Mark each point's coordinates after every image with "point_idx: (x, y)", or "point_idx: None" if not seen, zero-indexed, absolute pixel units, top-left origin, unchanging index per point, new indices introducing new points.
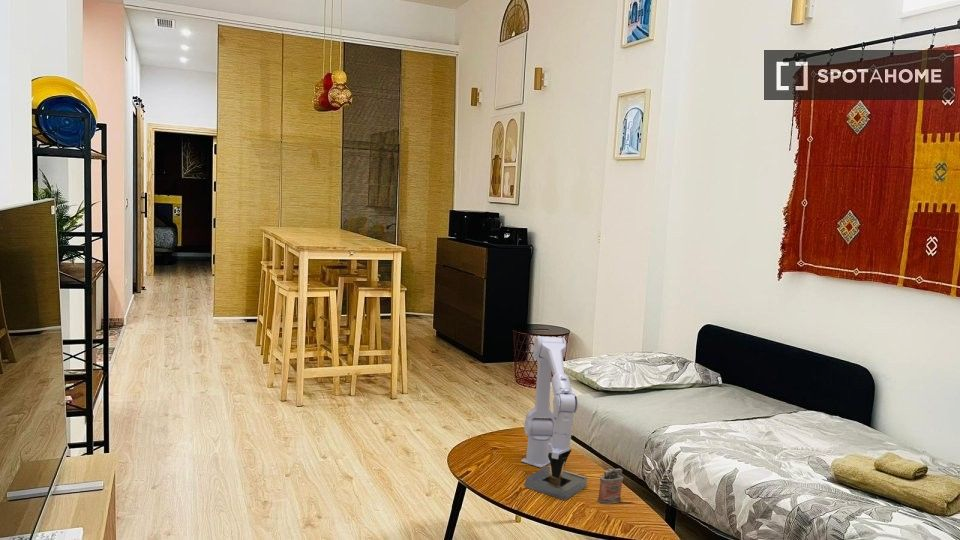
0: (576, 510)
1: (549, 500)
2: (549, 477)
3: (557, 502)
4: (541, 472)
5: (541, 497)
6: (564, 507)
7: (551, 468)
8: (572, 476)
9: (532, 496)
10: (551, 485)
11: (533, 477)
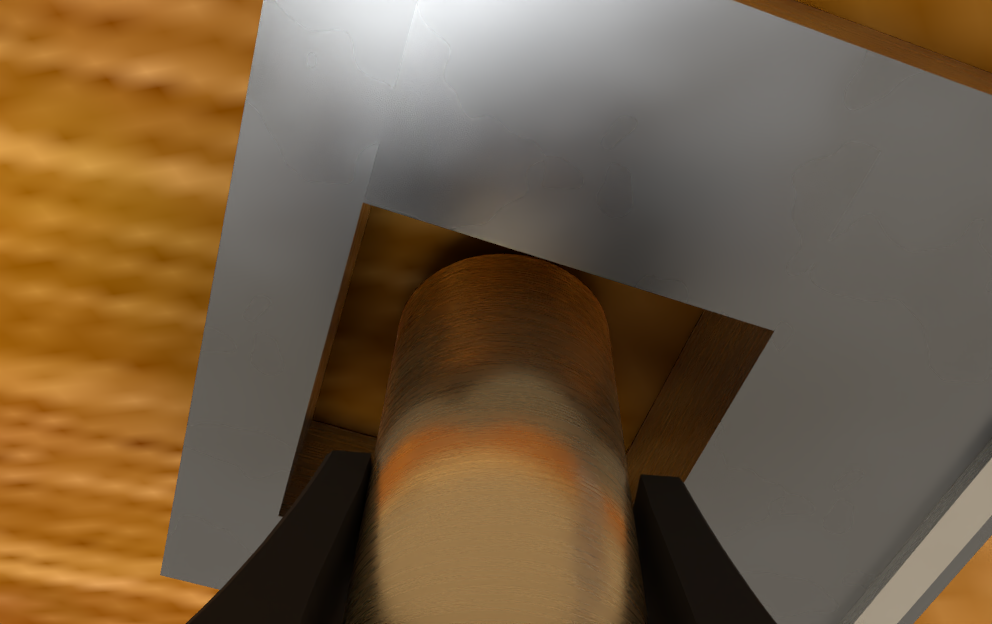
0: (34, 589)
1: (77, 312)
2: (418, 360)
3: (91, 406)
4: (798, 133)
5: (96, 198)
6: (10, 486)
7: (255, 553)
8: (788, 598)
9: (28, 59)
10: (224, 387)
11: (416, 18)
